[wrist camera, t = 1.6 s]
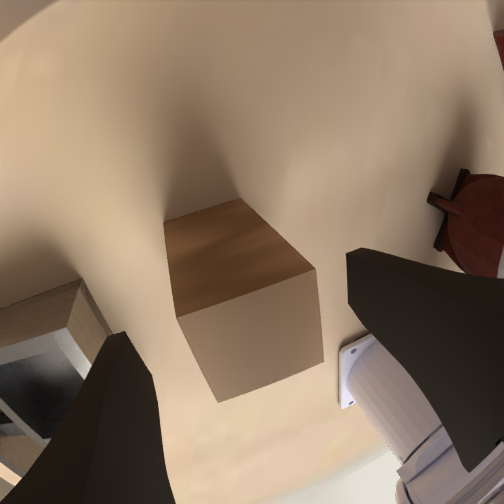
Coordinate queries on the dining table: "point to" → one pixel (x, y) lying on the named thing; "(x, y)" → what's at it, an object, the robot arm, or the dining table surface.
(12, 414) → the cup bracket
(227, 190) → the dining table surface
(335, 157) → the dining table surface
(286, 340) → the brown rectangular block
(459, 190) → the mate gourd
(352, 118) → the dining table surface
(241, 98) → the dining table surface
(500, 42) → the red canister
